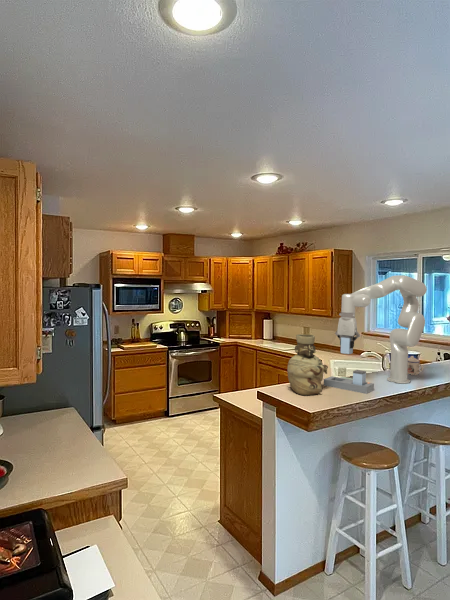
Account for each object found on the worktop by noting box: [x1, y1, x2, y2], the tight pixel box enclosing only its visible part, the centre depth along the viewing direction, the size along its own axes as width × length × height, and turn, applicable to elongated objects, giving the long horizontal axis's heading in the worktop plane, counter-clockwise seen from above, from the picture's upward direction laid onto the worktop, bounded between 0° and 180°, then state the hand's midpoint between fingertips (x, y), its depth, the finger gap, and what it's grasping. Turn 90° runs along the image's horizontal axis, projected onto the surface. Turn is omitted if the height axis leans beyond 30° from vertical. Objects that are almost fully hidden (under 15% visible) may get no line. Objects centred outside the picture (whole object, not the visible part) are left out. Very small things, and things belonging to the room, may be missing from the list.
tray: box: [339, 376, 353, 380], centre depth 229 cm, size 14×14×2 cm
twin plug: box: [352, 369, 367, 385], centre depth 211 cm, size 5×5×10 cm
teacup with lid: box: [407, 355, 424, 376], centre depth 257 cm, size 12×9×12 cm
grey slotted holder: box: [323, 375, 375, 395], centre depth 215 cm, size 10×24×5 cm, turn 49°
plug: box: [340, 335, 354, 355], centre depth 226 cm, size 5×5×10 cm
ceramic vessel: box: [286, 333, 329, 396], centre depth 211 cm, size 19×21×30 cm
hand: (346, 347), depth 226 cm, fingers closed on plug, 5 cm apart
